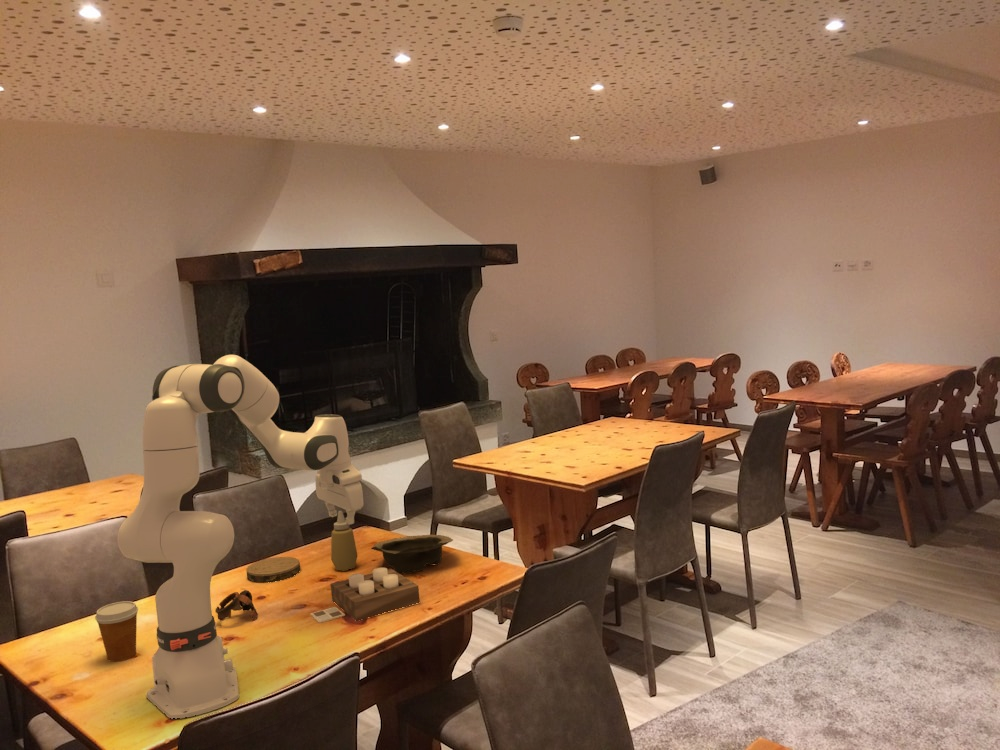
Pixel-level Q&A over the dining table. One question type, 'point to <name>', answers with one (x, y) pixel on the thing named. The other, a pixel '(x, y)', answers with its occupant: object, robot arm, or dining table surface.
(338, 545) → the squeeze bottle
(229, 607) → the pottery mug
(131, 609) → the disposable coffee cup
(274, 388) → the robot arm
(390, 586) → the button front outer
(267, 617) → the dining table surface
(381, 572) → the beige egg
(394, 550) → the stone bowl
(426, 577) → the dining table surface
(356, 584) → the egg
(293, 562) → the brown wooden disc
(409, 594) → the button board
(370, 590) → the button front inner
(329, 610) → the tile
